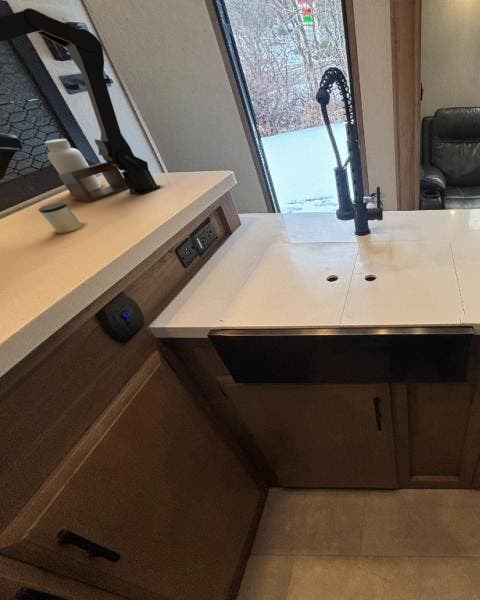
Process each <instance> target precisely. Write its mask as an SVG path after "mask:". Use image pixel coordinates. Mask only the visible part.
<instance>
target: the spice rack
mask: <svg viewBox="0 0 480 600" xmlns="http://www.w3.org/2000/svg"><path fill="white" fill-rule="evenodd" d="M99 174H102V176H103V177H104V179H105V181H106V182H107V183H108V186H105V187H103V188H102V187H101V188H99V189H97V190H94V191H91V192H89V191H88V190H87V188H86V187H85V185H84V184H83V182H82V181H81V179H82V178H85V177H89V176H92V175H95V176H96V175H99ZM57 176H58V177H59V179H60V180H61V181H62V183H63V184H64V186H65V187H66V189H67V190H68V191H69V193H70V194H71V196H72V197H73V198H74V200H75V201H83V202H90V203H92V202H95V201H96V200H99V199H101V198H102V199H103V198H104V197H105V198H106V197H107V196H110V195H113V194H116V193H119V192H121V191H125V190H129V188H128V186H127V185H126V183H125V181H124V180H123V178H124V177H123V175H122V172H121V170H120V169H118V168H117V167H116V166H114V165H111V164H109V163H108V162H106V161H104V162H99V163H95V164H93V165H89V167H85V168H81V169H78V170H74V171H71V172H67V173H64V174H58V175H57Z"/></svg>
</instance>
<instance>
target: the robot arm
mask: <svg viewBox="0 0 480 600" xmlns="http://www.w3.org/2000/svg"><path fill="white" fill-rule="evenodd" d="M33 33H36V34H39V35H40V36H43V37H45V38H46V39H48V40H50V41H51V42H54V43H55V44H56V45H59V46H61V47H63V48H66V50H67V52H68V54H69V56H70V57H71V60H72V62H74V64H75V65H76V67H77V69H78V70H79V71H80V74H81V76H82V78H83V82H84V85H85V88H86V91H87V94H88V97H89V100H90V103H91V106H92V109H93V112H94V116H95V118H96V121H97V125H98V127H99V130H100V139H96V138H95V139H94V143H95V144H96V146H97V148H98V156H102V159H103V160H104V162H108V163H109V164H111V165H114V166H116V167H117V168H118V169H119V171H122V172H121V174H122V176H123V180H124V181H125V183H126V185H127V186H128V192H129V193H132V194H141V195H143V194H147V193H148V192H151V191H155V190H156V189H159V188H161V185H160V184H157V182H156V180H155V179H154V177H153V175H152V173H151V172H150V169H149V163H148V161H146V160H144V159H142V158H139V157H137V156H135V155H134V153H133V150H132V149H131V146H130V145H129V143H128V141H127V140H126V139H125V137H124V136H123V134H122V131H121V129H120V125H119V122H118V118H117V116H116V112H115V109H114V106H113V101H112V99H111V95H110V91H109V89H108V85H107V81H106V78H105V74H104V73H105V56H104V49H103V44H102V42H101V40H99V38H98V37H97V36H96V35H94V34H93V33H92V32H90V31H89V30H86V29H84V28H76V27H74V26H72V25H70V24H67V23H65V22H62V21H60V20H58V19H56V18H53V17H51V16H48V15H47V14H44V13H43V12H40V11H38V10H37V9H34V8H32V7H31V8H30V7H28V8H25V9H24V8H23V9H22V10H20V11H18V12H13V13H9V14H6V15H5V14H4V15H0V42H3V41H7V40H11V39H15V38H18V37H21V36H25V35H29V34H33ZM19 149H22V150H23V149H24V147H23V143H22V139H20V138H19V137H18V136H17V135H16V134H11V133H3V132H0V180H4V178H5V175H6V173H7V170H8V168H9V166H10V163H11V161H12V159H13V158H14V156H15V154H16V153H18V152H19V151H20V150H19ZM19 153H20V152H19Z"/></svg>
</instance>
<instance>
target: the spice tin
mask: <svg viewBox="0 0 480 600" xmlns="http://www.w3.org/2000/svg"><path fill="white" fill-rule="evenodd" d="M38 211H39V213H41V214H42V216H43V217H44V218H45V219H46V221H47V222H48V223H49V224H50V226H51V227H52V228H53V229H54V230H55V231H56V233H58V234H65V233H66V234H67V233H70V232H73V231H76V230H78V229H80V228H82V227H83V225H82V224H81V222H80V220H79V219H78V218H77V216H76V215H75V214H74V213H73V211H72V210H71V208H70V207H69V206H68V204H67V202H66V201H57V202H52V203H48V204H45V205H42V206H40V207H39V208H38Z"/></svg>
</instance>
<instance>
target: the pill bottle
mask: <svg viewBox="0 0 480 600" xmlns="http://www.w3.org/2000/svg"><path fill="white" fill-rule="evenodd" d="M44 146H46V148H47V149H48V150H49V152H48V153H47V155H46V156H47V158H48V160H49V161H50V164H52V166H53V167H54V169H55V170H56V171H57V173H58V175H60V174H64V173H67V172H71V171H74V170H78V169H81V168H85V167H89V166H90V165H89V164H88V162H87V160H86V159H85V157H84V155H83V154H82V152H81V151H80V150H78V149H77V148H74V147H71V144H70V142H69V141H68V139H67V138H57V139H50V140H46V141H44ZM81 181H82V182H83V184H84V185H85V187H86V188H87V190H88V191H89V193H90V192H93V191H96V190H99V189H101V188H102V185H101V183H100V180H98V178H97V176H96V174H95V175H92V176H89V177H85V178H82V179H81Z"/></svg>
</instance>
